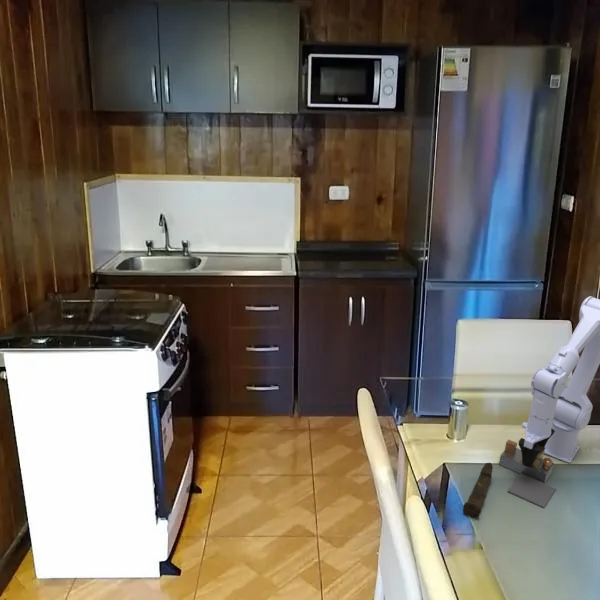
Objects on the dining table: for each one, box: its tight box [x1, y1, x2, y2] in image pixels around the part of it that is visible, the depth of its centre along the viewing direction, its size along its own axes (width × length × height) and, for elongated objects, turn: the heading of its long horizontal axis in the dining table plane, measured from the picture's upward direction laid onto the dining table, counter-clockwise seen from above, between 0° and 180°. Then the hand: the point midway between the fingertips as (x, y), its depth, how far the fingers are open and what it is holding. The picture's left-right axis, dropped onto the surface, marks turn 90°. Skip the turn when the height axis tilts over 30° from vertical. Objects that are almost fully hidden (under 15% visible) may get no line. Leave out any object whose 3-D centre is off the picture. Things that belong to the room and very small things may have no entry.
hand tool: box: [462, 462, 494, 518], centre depth 148 cm, size 19×4×5 cm, turn 149°
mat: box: [507, 473, 557, 509], centre depth 151 cm, size 9×9×1 cm
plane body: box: [498, 439, 555, 484], centre depth 158 cm, size 6×12×6 cm, turn 51°
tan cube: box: [521, 444, 545, 468], centre depth 157 cm, size 4×4×4 cm
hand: (532, 458), depth 157 cm, fingers open, 7 cm apart
